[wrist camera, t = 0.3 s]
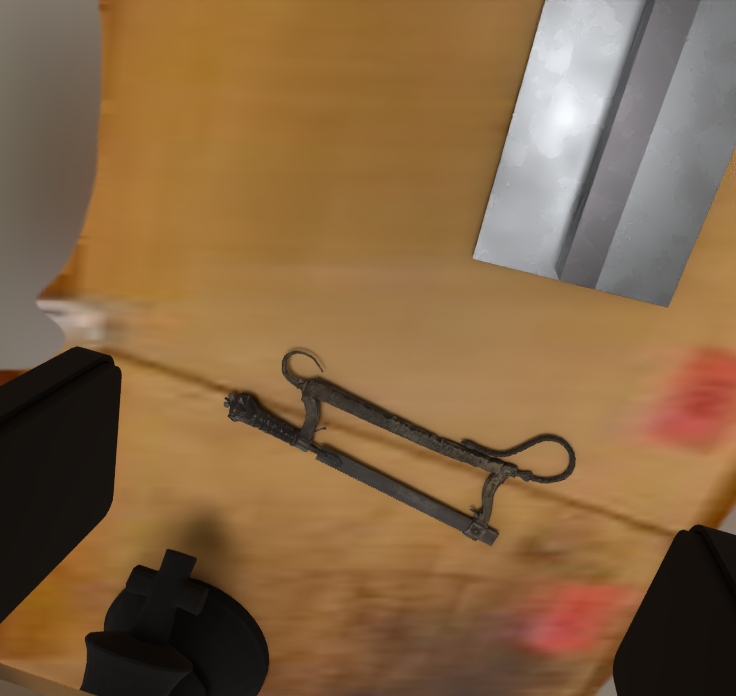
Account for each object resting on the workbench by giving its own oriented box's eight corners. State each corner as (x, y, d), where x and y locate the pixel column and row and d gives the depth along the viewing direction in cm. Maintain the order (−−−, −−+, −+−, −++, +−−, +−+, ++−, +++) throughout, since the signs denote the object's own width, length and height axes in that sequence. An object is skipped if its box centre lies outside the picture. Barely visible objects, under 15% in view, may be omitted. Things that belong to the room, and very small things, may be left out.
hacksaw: (222, 408, 46) (215, 418, 44) (267, 294, 41) (260, 300, 40) (510, 549, 46) (511, 562, 45) (586, 450, 42) (589, 462, 40)
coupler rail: (553, -32, 33) (561, -49, 29) (782, 15, 32) (816, 2, 28) (473, 255, 39) (471, 267, 35) (663, 303, 37) (680, 319, 34)
